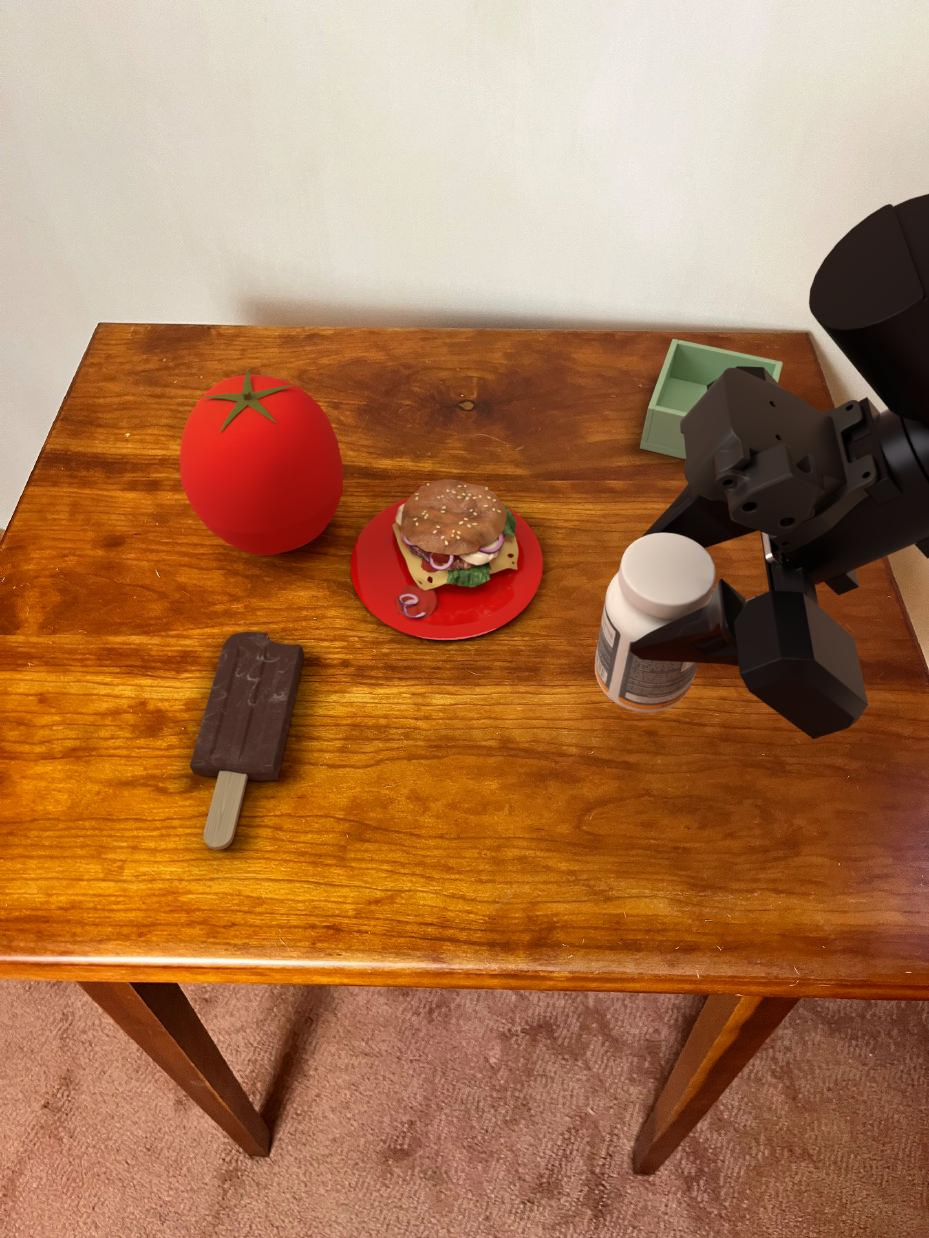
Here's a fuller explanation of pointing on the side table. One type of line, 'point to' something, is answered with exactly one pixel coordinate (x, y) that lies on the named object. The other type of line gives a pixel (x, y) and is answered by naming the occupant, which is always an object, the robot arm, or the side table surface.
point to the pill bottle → (651, 619)
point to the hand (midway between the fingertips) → (632, 604)
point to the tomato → (261, 464)
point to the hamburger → (447, 562)
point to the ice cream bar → (245, 724)
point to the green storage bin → (688, 390)
